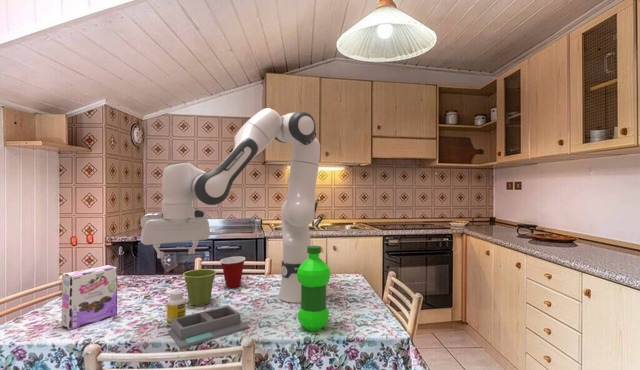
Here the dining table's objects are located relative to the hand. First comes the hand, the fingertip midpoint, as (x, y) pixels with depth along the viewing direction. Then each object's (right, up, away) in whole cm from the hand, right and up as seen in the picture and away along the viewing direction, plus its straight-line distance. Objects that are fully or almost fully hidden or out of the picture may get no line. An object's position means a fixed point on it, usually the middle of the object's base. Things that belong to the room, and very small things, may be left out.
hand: (176, 256), depth 105 cm
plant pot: (+1, -22, +18) cm, 28 cm away
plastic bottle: (+44, -22, -3) cm, 49 cm away
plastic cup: (+8, -22, +38) cm, 44 cm away
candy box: (-28, -21, +1) cm, 35 cm away
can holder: (+12, -21, -5) cm, 25 cm away
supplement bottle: (0, -22, 0) cm, 22 cm away
